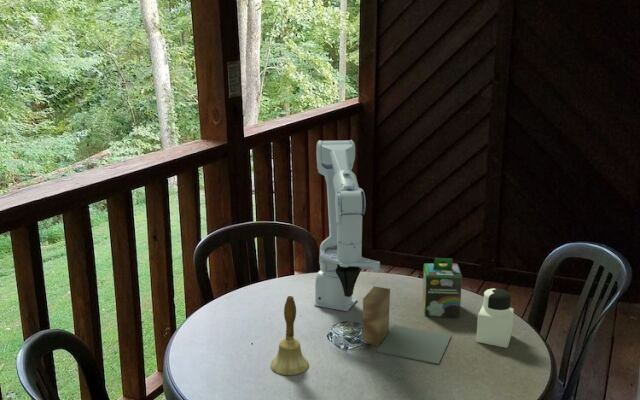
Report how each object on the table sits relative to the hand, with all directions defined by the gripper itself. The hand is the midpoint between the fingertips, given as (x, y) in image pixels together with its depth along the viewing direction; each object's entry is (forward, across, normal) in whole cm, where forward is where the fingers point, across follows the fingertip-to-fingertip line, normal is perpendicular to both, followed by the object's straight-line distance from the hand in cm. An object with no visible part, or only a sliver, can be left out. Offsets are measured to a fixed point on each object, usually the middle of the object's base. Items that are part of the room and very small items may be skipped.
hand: (348, 295), depth 140 cm
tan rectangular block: (+10, +7, 0) cm, 12 cm away
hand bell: (+10, -6, -20) cm, 23 cm away
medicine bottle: (+10, +33, +10) cm, 36 cm away
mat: (+9, +16, 0) cm, 19 cm away
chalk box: (+10, +18, +21) cm, 29 cm away
